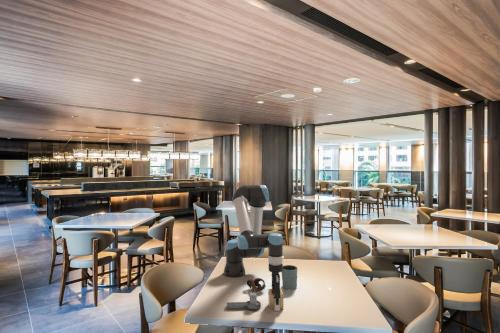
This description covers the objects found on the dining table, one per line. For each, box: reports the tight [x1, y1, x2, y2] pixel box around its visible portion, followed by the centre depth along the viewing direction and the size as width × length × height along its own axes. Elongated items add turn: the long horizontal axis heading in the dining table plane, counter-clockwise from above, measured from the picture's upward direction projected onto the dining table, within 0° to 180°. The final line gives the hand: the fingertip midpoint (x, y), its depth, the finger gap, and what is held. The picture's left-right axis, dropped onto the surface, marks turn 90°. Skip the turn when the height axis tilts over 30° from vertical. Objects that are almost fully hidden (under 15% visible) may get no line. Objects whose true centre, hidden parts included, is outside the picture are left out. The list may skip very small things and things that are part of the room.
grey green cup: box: [281, 264, 298, 291], centre depth 184 cm, size 10×10×12 cm
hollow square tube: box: [267, 288, 284, 311], centre depth 158 cm, size 7×7×8 cm
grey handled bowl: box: [226, 292, 262, 312], centre depth 157 cm, size 8×18×7 cm, turn 93°
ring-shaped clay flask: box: [245, 277, 267, 294], centre depth 179 cm, size 12×10×8 cm
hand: (275, 306), depth 158 cm, fingers open, 8 cm apart
